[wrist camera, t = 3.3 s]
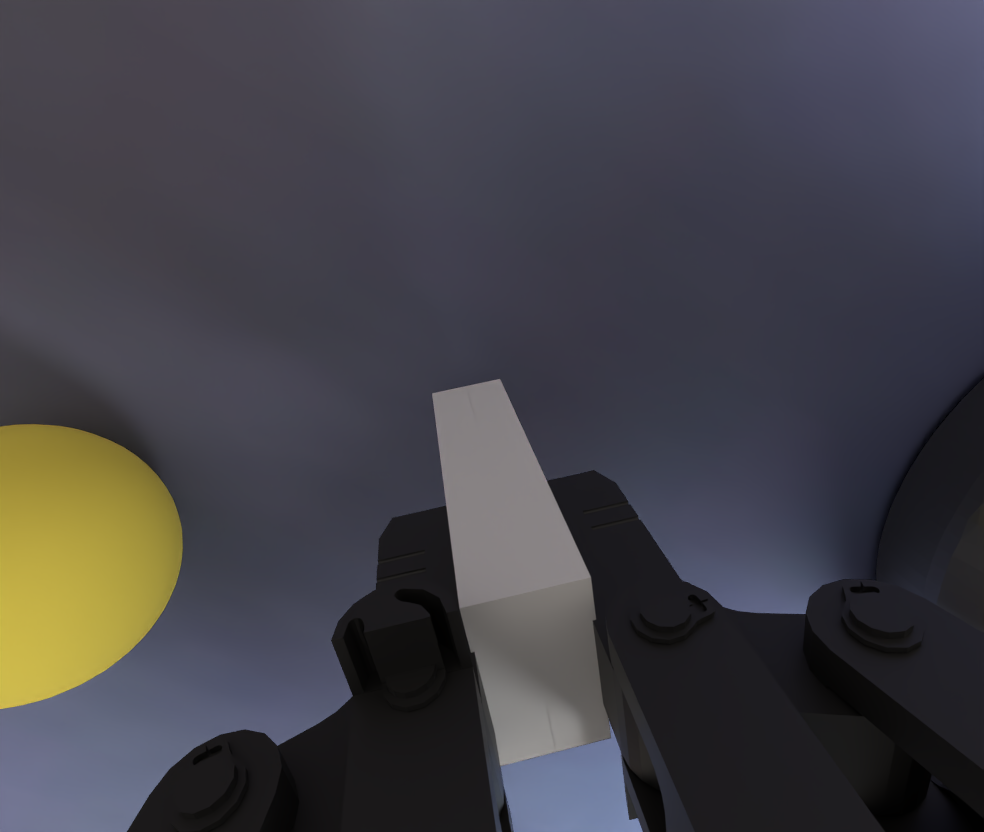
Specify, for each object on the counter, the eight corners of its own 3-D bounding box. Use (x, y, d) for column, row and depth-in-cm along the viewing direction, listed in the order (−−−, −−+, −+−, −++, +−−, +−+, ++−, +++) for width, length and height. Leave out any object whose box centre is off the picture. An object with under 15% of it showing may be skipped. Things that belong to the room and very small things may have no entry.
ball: (162, 363, 13) (12, 483, 8) (246, 553, 15) (169, 737, 10) (-84, 414, 13) (-397, 570, 8) (38, 599, 15) (-144, 813, 10)
